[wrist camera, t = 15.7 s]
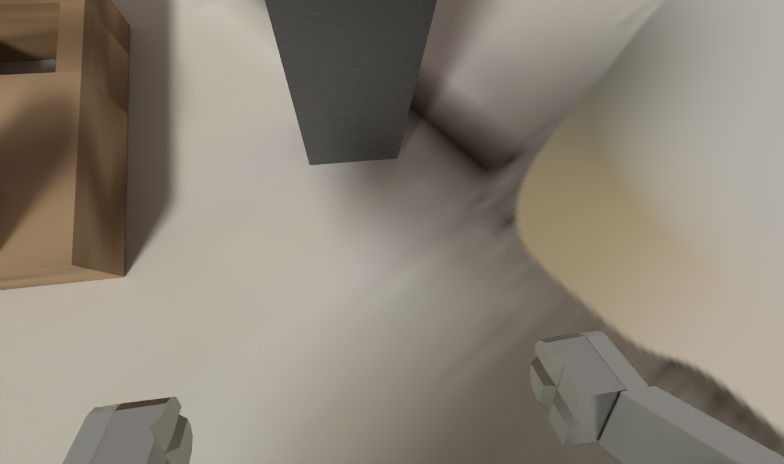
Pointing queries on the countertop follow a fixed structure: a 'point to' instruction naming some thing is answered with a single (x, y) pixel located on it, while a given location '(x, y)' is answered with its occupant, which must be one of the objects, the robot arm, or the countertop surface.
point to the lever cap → (351, 72)
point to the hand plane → (63, 143)
